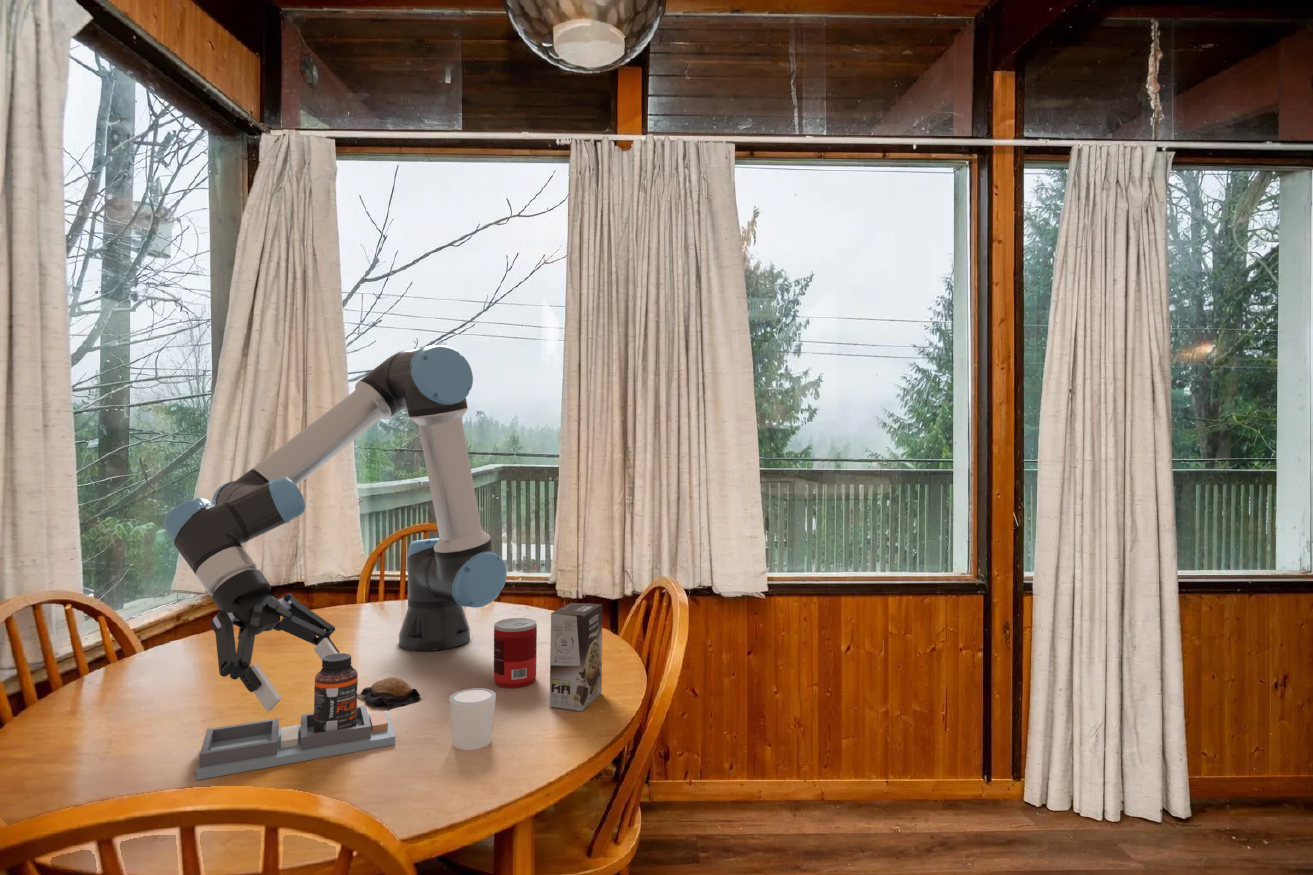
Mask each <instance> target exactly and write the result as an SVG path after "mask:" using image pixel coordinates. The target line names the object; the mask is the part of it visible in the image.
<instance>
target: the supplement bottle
mask: <svg viewBox="0 0 1313 875" xmlns="http://www.w3.org/2000/svg"><path fill="white" fill-rule="evenodd" d="M321 663H322V664H321V669H320V671H318V672H317V674H316V675H315V677H314V693H313V694H314V698H313V701H314V702H313V713H314V733H320V732H326V731H332V730H338V729H344V728H350V727H356V722H357V706H358V698H357V695H358V685H359V684H358V681H359V680H358V671H357V669H356V668H354V667H353V666H352V655H351V654H350V653H340V652H339V653H338V654H331V655H327V656H325V657H323V659H322V660H321Z"/></svg>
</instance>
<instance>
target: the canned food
mask: <svg viewBox="0 0 1313 875" xmlns="http://www.w3.org/2000/svg"><path fill="white" fill-rule="evenodd" d="M493 626H494V627H493V680H494V684H495V685H496V686H498V687H500V688H504V689H505V688H506V689H517V688H523V687H527V686H530V685H532V684H533V683H534V682H535V681H536V677H537V646H538V645H537V642H538V641H537V640H538V639H537V638H538V637H537V636H538V633H537V632H538V629H537V628H538V624H537V621H536V620H535V619H532V618H527V617H511V618H505V619H504V618H503V619H501V620H498V621H496V622H495V623H494V625H493Z"/></svg>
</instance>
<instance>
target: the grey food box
mask: <svg viewBox="0 0 1313 875" xmlns="http://www.w3.org/2000/svg"><path fill="white" fill-rule="evenodd" d="M549 650H550V651H549V653H550V655H549V657H550V659H549V661H550V662H549V664H550V665H549V666H550V668H549V670H550V672H549V708H556V709H564V710H570V711H576V712H583V711H584V710H585V709H586V708H587V707H588V706H590V705H591V704H592V703H593V702H594V701H595V700H596V699H597V698H598V697H599V696H600V695H601V694H602V692H603V690H602V689H603V687H602V686H603V684H602V683H603V679H602V678H603V604H601V603H588V602H587V603H584V602H583V603H581V602H580V603H579V602H578V603H577V602H570V603H568V604H566V605H565V606H562V607H561V608H558V609H556V610H555V611H553V612H551V613H550V649H549Z"/></svg>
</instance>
